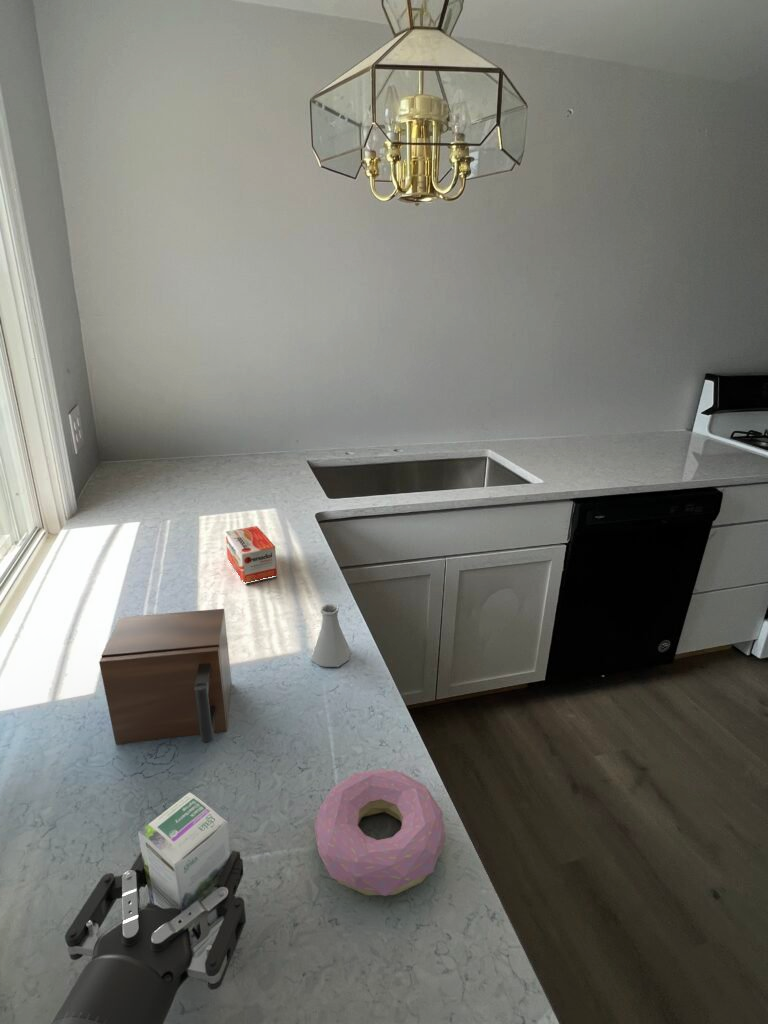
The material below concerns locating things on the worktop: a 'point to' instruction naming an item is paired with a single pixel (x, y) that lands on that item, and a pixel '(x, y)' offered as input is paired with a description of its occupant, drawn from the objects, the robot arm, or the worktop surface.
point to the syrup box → (185, 857)
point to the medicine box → (251, 553)
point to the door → (165, 695)
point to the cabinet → (173, 637)
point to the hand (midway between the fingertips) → (198, 850)
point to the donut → (383, 860)
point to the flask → (330, 640)
